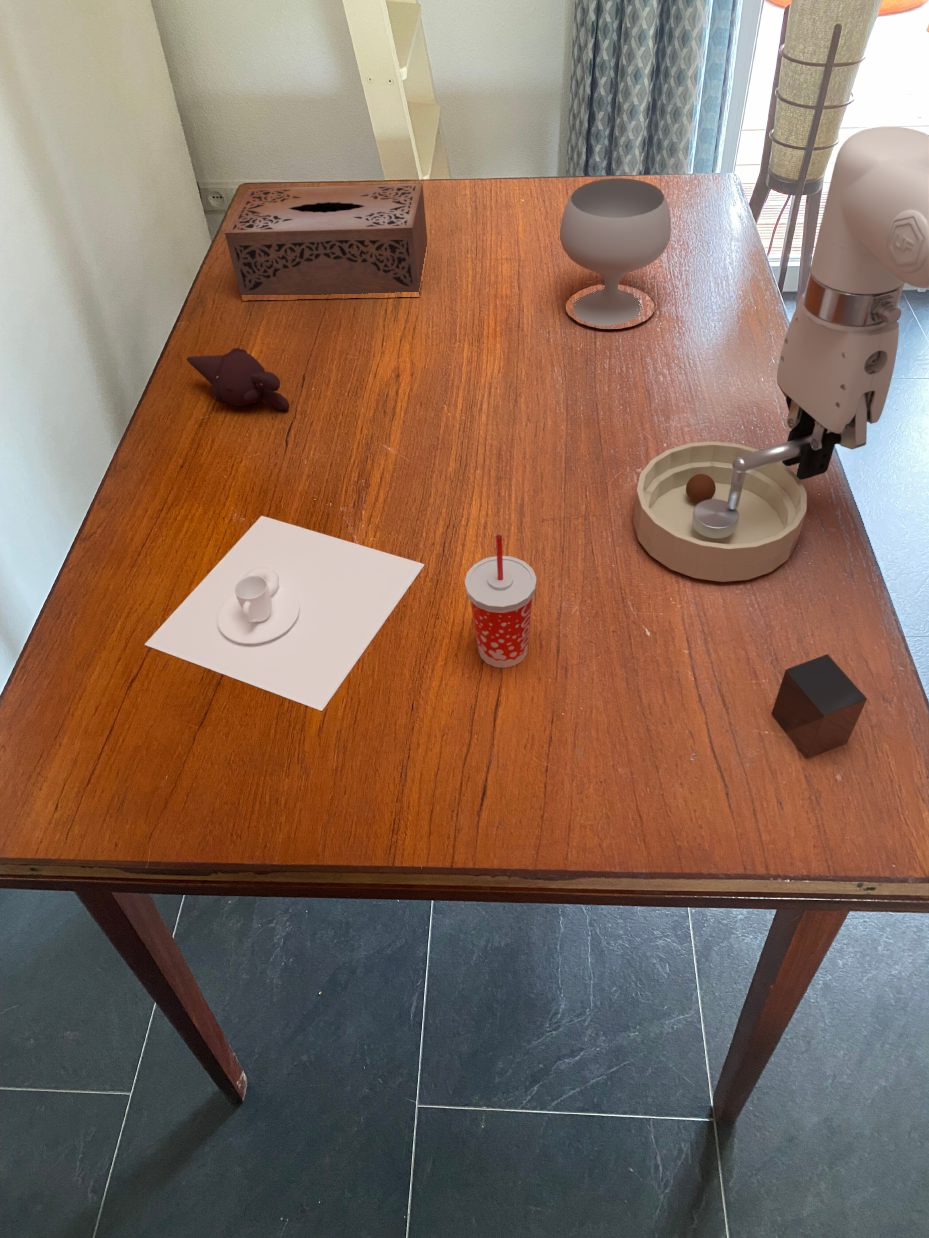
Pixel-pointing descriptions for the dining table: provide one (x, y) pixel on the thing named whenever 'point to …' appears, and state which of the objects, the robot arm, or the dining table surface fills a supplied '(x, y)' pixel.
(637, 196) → the chalice
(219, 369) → the dark brown figurine
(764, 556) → the bowl
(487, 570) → the beverage cup
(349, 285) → the tissue box cover
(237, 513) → the dining table surface
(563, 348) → the dining table surface
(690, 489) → the meatball
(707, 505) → the bent silver rod
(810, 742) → the dark brown cube
